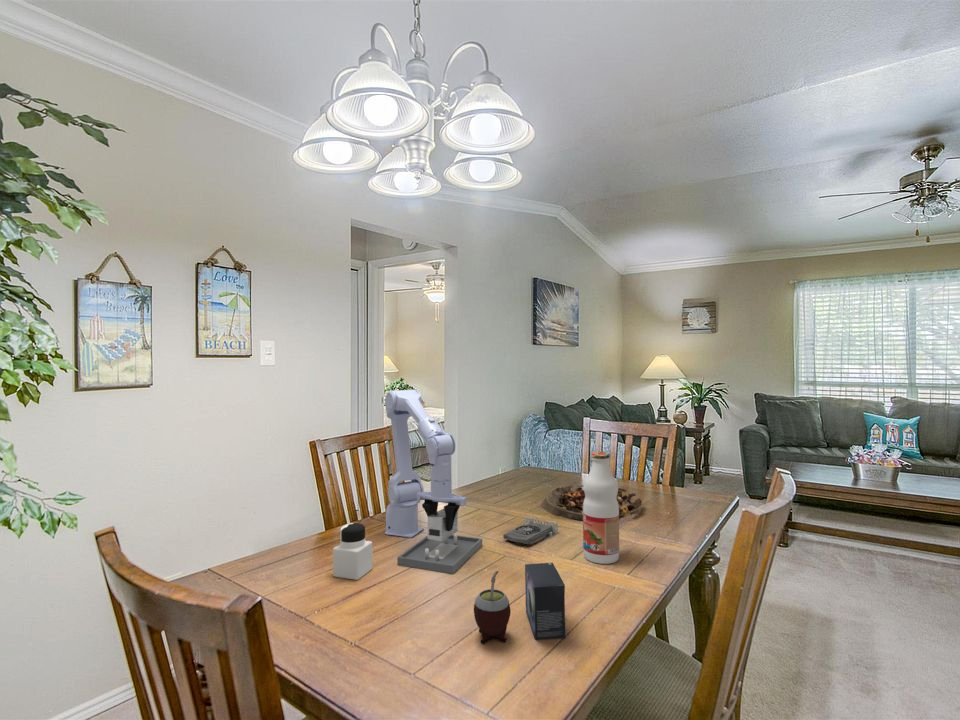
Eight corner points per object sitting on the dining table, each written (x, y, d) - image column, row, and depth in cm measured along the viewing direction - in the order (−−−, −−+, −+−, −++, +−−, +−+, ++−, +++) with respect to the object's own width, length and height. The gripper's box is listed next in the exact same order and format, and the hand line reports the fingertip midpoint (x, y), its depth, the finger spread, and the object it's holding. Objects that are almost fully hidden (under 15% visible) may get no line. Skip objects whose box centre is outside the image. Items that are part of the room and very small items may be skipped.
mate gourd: (489, 622, 101) (488, 549, 101) (521, 636, 96) (520, 558, 96) (465, 639, 95) (464, 560, 95) (497, 654, 90) (497, 571, 90)
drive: (427, 539, 134) (427, 516, 134) (443, 529, 142) (443, 507, 142) (441, 541, 132) (441, 518, 132) (457, 531, 140) (457, 509, 140)
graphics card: (526, 515, 160) (558, 521, 153) (526, 527, 160) (559, 534, 153) (493, 530, 147) (527, 538, 140) (494, 543, 147) (528, 551, 140)
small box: (523, 612, 105) (523, 562, 105) (554, 610, 106) (553, 561, 106) (533, 640, 95) (532, 585, 95) (567, 638, 95) (566, 583, 95)
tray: (397, 564, 130) (397, 551, 130) (432, 538, 149) (432, 526, 149) (453, 574, 124) (453, 560, 124) (482, 545, 143) (482, 533, 143)
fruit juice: (623, 564, 129) (622, 456, 129) (587, 565, 129) (586, 456, 129) (614, 550, 138) (613, 449, 138) (580, 550, 138) (579, 450, 138)
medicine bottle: (373, 568, 128) (372, 522, 128) (357, 580, 121) (357, 531, 121) (349, 565, 130) (348, 519, 130) (332, 576, 123) (332, 528, 123)
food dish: (651, 506, 183) (652, 485, 182) (625, 536, 155) (626, 511, 154) (562, 490, 201) (562, 471, 201) (524, 514, 173) (524, 491, 173)
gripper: (471, 478, 137) (471, 527, 137) (425, 473, 143) (426, 520, 143) (459, 484, 130) (459, 536, 130) (412, 479, 137) (413, 528, 137)
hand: (441, 528), depth 136 cm, fingers closed on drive, 4 cm apart
